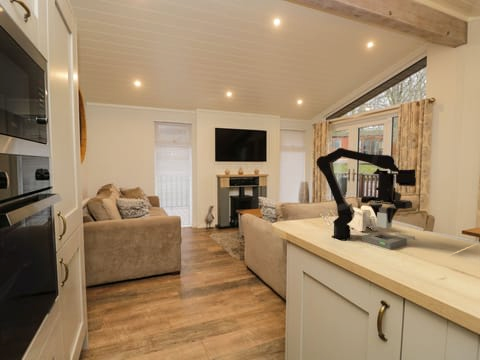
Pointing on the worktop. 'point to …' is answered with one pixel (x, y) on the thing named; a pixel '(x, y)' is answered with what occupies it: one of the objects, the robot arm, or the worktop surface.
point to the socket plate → (384, 240)
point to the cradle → (405, 236)
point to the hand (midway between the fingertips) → (384, 222)
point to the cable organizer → (364, 219)
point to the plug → (383, 218)
